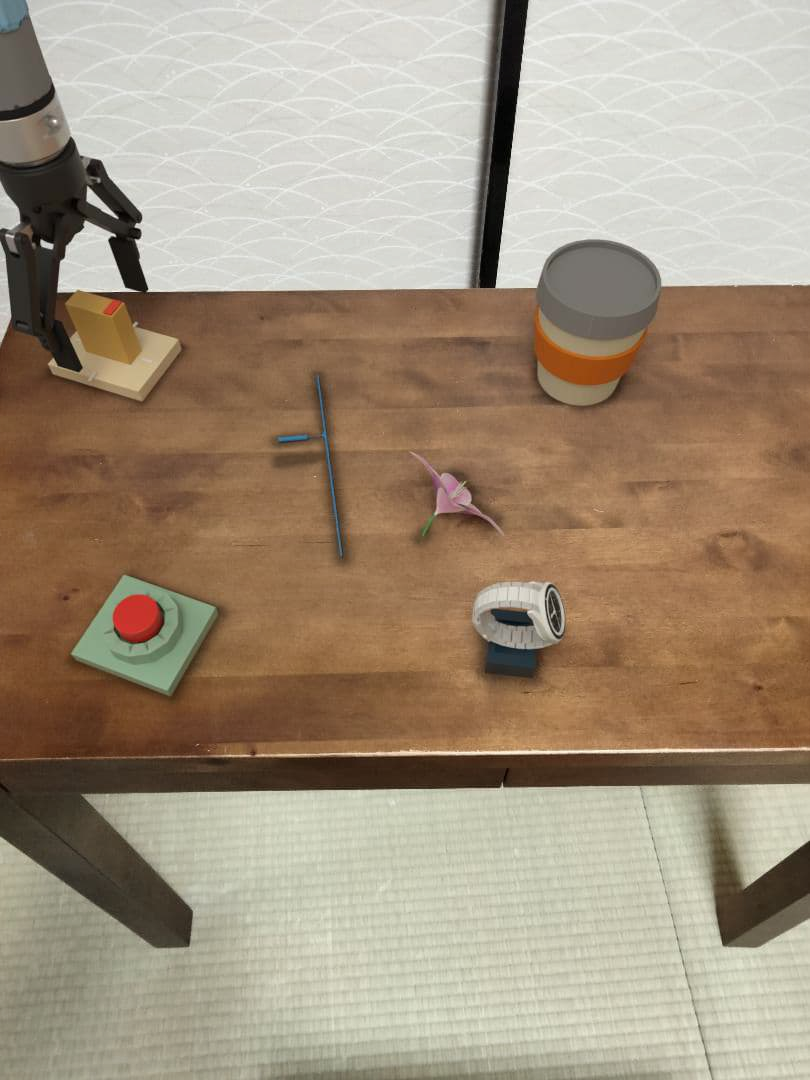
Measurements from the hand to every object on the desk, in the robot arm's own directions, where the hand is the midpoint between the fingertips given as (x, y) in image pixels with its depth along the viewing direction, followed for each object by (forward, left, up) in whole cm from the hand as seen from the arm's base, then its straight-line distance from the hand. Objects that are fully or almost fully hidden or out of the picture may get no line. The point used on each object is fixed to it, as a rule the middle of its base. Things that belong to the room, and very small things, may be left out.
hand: (105, 326), depth 91 cm
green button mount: (+22, -30, -6) cm, 38 cm away
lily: (+44, -7, -6) cm, 45 cm away
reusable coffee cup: (+51, +17, -6) cm, 54 cm away
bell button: (+22, -30, -3) cm, 37 cm away
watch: (+54, -19, -6) cm, 57 cm away
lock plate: (0, 0, -6) cm, 6 cm away
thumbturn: (0, 0, -4) cm, 4 cm away
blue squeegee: (+27, -6, -7) cm, 28 cm away
